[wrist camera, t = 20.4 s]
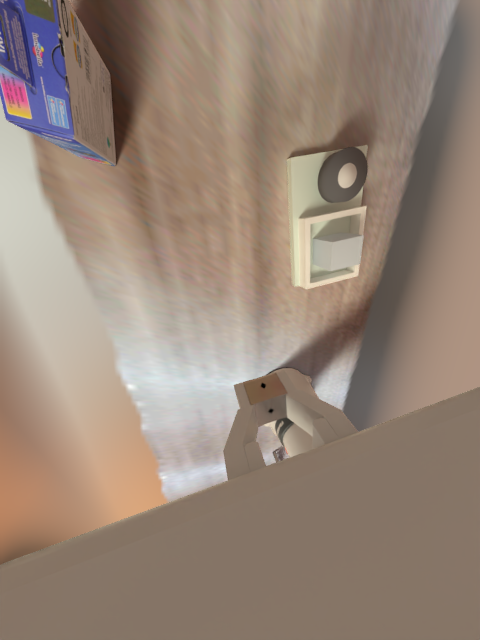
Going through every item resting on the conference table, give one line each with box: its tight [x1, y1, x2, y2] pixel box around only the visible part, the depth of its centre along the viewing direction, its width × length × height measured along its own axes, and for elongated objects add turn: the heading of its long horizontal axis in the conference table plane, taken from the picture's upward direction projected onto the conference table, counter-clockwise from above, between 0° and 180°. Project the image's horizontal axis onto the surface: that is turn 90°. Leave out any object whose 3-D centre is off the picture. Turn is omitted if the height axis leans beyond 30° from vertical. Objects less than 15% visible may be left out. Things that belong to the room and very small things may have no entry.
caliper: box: [273, 452, 279, 462], centre depth 76 cm, size 20×1×6 cm, turn 15°
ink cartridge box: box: [0, 0, 116, 166], centre depth 20 cm, size 10×6×14 cm, turn 170°
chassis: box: [287, 145, 368, 289], centre depth 38 cm, size 22×14×4 cm, turn 10°
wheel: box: [318, 147, 367, 203], centre depth 33 cm, size 7×7×3 cm
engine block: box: [313, 232, 364, 271], centre depth 39 cm, size 5×6×6 cm
